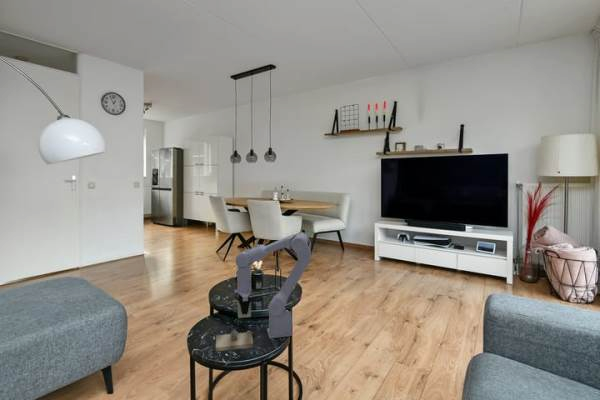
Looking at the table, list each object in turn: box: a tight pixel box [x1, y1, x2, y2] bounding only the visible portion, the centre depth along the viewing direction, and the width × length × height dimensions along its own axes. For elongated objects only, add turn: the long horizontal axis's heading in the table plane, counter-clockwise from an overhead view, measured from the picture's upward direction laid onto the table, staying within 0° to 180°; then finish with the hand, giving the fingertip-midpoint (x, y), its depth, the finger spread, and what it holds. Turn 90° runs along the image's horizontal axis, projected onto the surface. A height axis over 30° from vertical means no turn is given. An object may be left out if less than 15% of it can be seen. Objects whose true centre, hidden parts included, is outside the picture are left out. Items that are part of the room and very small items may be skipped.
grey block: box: [237, 300, 252, 319], centre depth 132 cm, size 5×5×6 cm
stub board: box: [215, 330, 254, 352], centre depth 122 cm, size 14×9×4 cm, turn 104°
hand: (244, 310), depth 132 cm, fingers closed on grey block, 5 cm apart
